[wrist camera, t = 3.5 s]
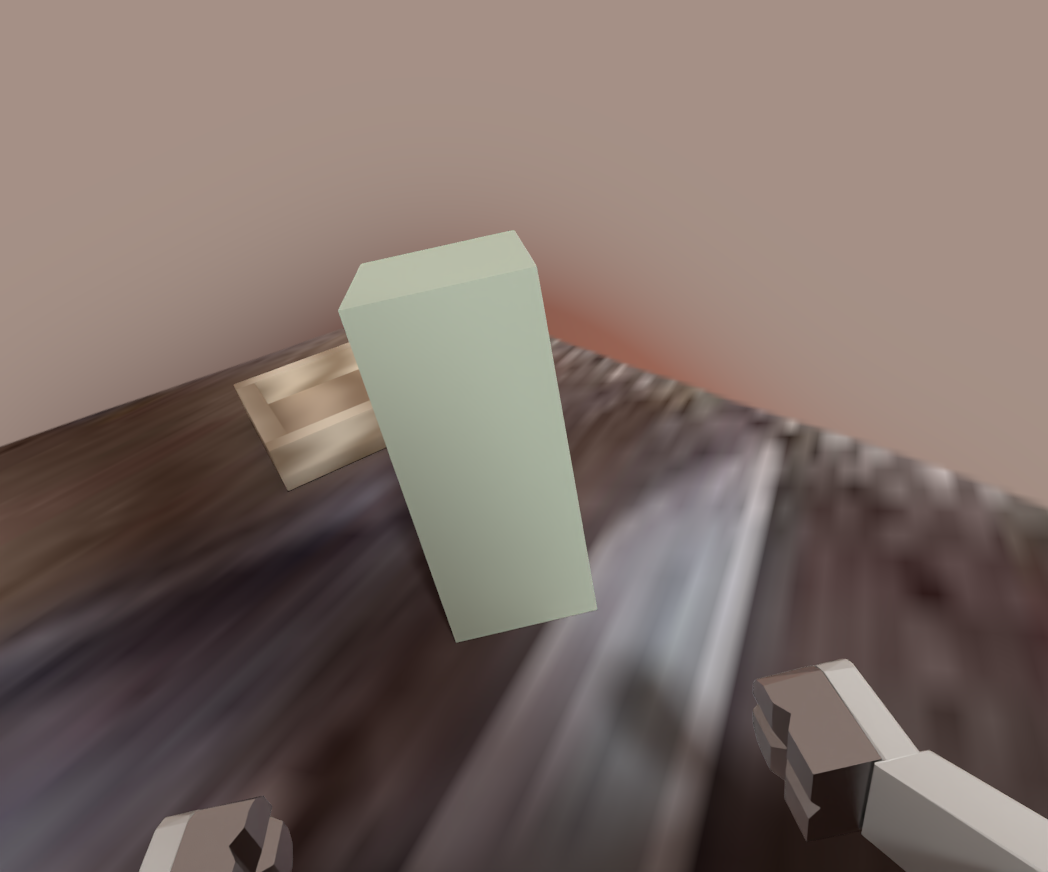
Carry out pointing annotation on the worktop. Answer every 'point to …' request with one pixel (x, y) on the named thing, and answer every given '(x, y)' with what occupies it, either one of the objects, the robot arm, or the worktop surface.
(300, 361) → the ash wood holder
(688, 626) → the worktop surface
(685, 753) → the worktop surface
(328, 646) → the worktop surface
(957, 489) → the worktop surface
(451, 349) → the sage block
